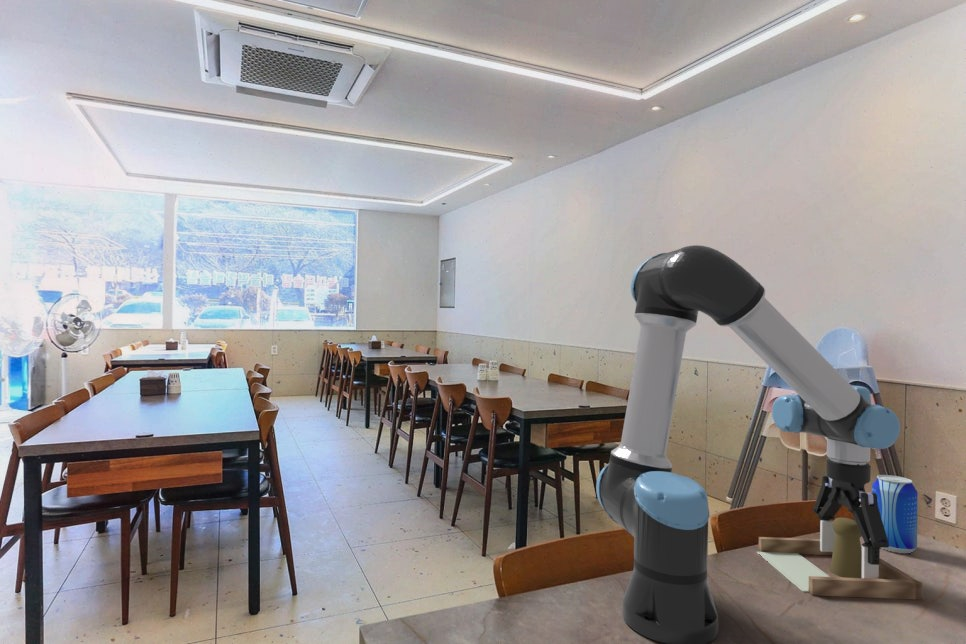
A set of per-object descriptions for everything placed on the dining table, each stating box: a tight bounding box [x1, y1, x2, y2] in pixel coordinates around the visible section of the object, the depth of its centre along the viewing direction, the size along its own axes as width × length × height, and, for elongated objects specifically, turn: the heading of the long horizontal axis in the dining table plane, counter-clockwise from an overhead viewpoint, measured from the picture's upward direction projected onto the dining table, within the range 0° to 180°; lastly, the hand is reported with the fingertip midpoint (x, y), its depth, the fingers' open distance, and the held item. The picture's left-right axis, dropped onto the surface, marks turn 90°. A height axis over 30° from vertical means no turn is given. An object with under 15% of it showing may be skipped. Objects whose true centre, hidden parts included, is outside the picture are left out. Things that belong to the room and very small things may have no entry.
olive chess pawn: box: [829, 517, 862, 578], centre depth 111 cm, size 6×6×11 cm
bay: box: [758, 536, 923, 601], centre depth 111 cm, size 20×21×3 cm
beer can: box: [871, 474, 919, 554], centre depth 125 cm, size 8×8×16 cm
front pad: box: [756, 551, 831, 593], centre depth 111 cm, size 9×18×1 cm, turn 178°
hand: (847, 564), depth 111 cm, fingers open, 13 cm apart
